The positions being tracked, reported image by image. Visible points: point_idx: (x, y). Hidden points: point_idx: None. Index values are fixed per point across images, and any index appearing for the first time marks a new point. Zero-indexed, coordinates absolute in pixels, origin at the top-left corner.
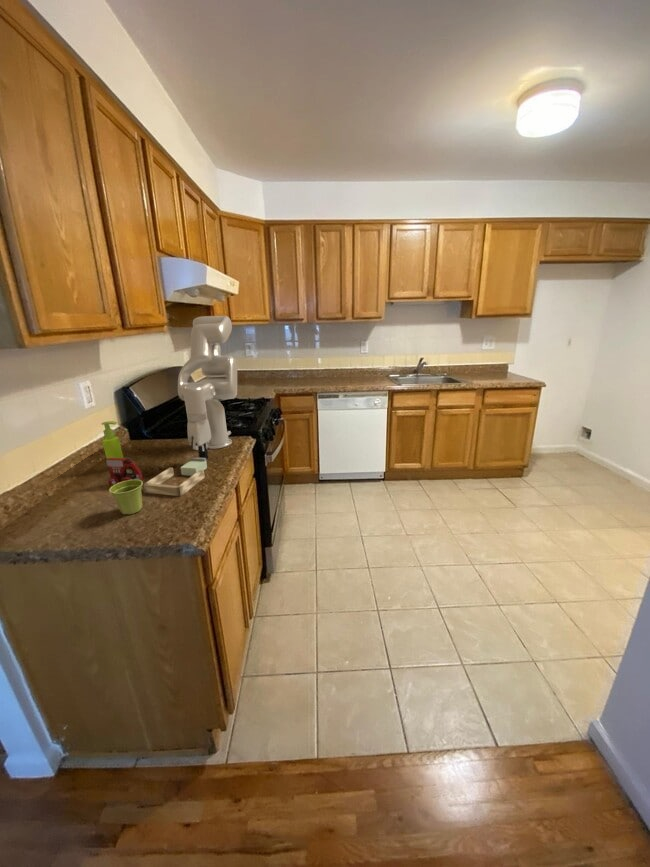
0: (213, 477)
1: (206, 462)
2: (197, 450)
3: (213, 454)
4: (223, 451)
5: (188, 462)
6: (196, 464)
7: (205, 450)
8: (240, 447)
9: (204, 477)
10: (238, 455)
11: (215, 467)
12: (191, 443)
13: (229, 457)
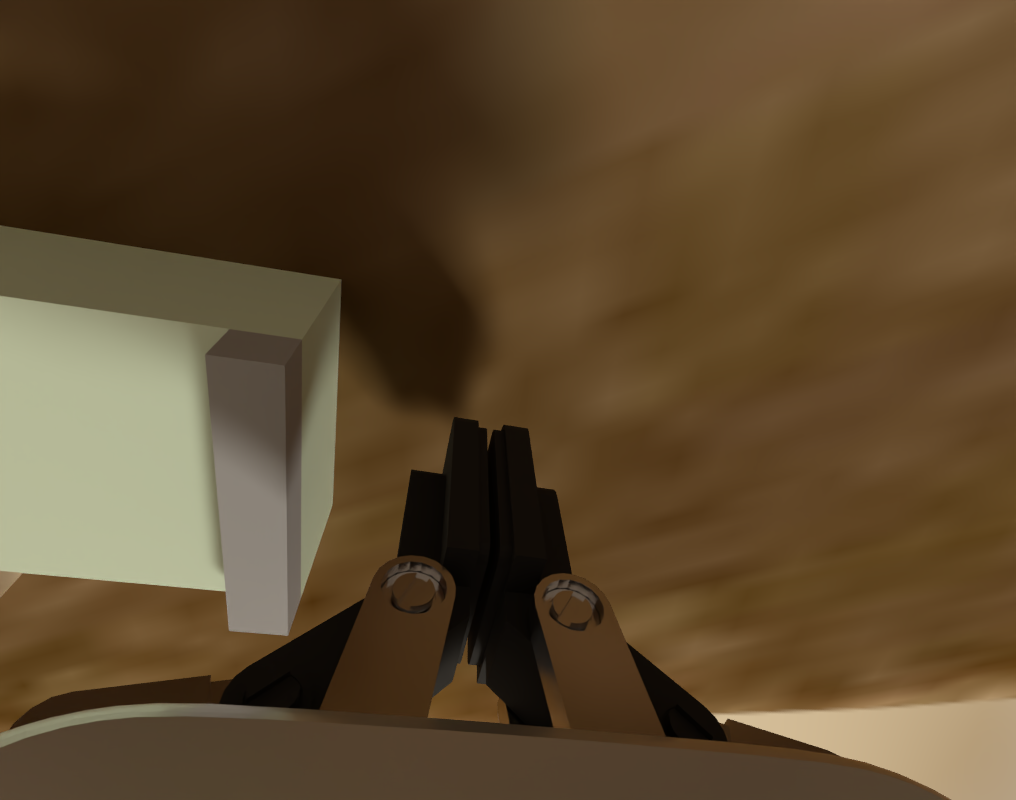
0: (57, 649)
1: (312, 563)
2: (372, 581)
3: (851, 433)
4: (925, 528)
5: (114, 336)
6: (72, 521)
7: (473, 661)
8: (981, 664)
9: (9, 572)
10: (704, 700)
11: (341, 592)
12: (211, 750)
13: (662, 642)
